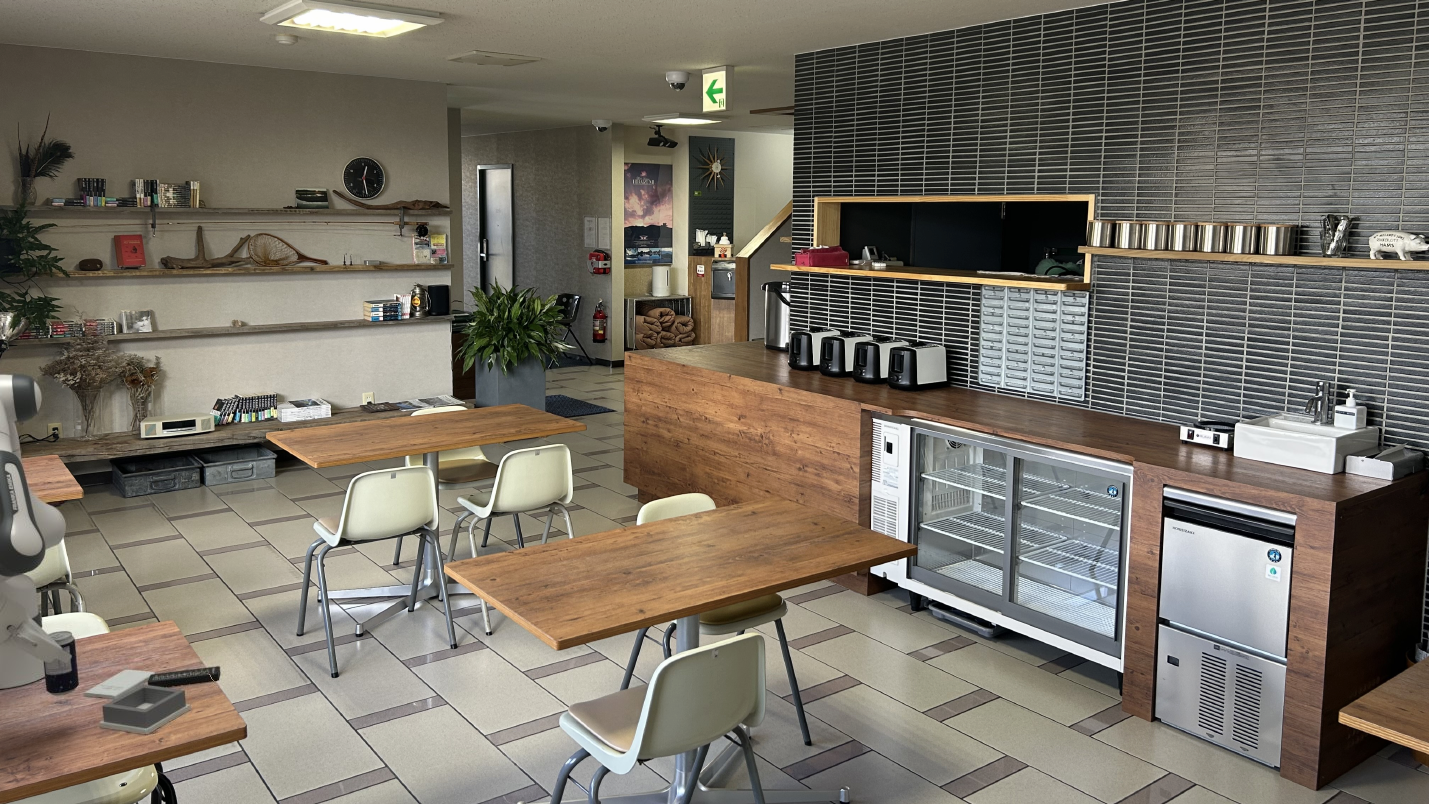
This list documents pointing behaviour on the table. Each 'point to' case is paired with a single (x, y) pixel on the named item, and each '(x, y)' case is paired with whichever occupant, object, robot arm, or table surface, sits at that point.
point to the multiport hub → (185, 677)
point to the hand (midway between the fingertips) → (63, 653)
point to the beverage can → (62, 667)
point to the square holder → (144, 709)
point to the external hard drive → (119, 684)
